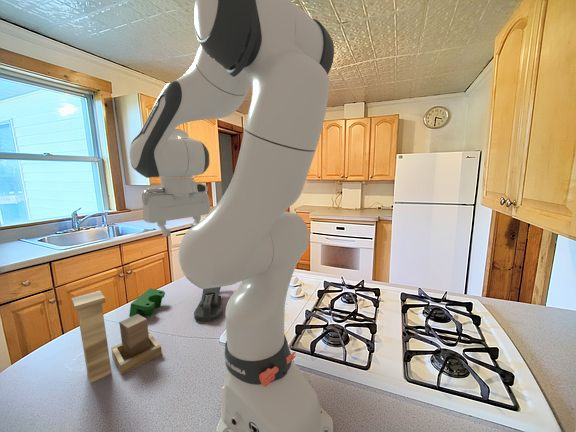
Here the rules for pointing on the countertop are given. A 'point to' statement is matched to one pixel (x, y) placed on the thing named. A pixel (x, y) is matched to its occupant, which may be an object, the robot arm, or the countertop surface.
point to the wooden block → (134, 336)
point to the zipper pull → (209, 306)
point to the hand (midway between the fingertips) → (181, 232)
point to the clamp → (147, 302)
